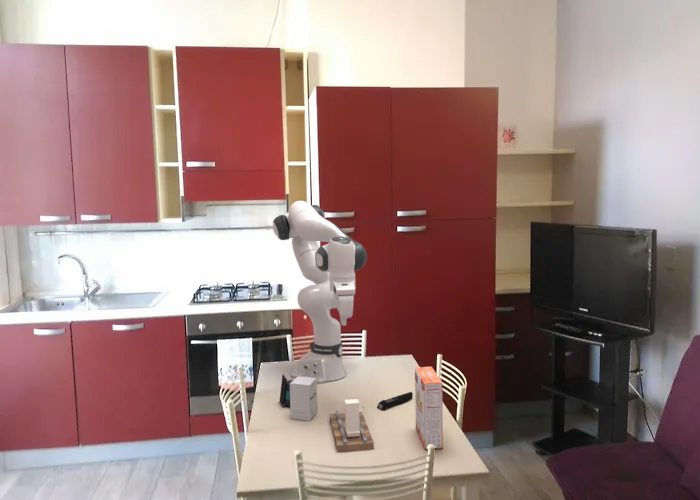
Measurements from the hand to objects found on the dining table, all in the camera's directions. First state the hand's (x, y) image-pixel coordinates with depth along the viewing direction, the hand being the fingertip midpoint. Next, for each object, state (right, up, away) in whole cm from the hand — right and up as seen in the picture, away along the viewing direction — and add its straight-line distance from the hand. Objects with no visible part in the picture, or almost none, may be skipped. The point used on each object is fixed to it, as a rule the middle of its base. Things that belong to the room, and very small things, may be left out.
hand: (343, 324), depth 182 cm
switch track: (+2, -33, -13) cm, 35 cm away
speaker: (-19, -31, +11) cm, 38 cm away
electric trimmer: (+18, -30, +9) cm, 37 cm away
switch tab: (+3, -31, -18) cm, 36 cm away
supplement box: (-14, -32, +1) cm, 35 cm away
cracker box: (+27, -33, -17) cm, 46 cm away
